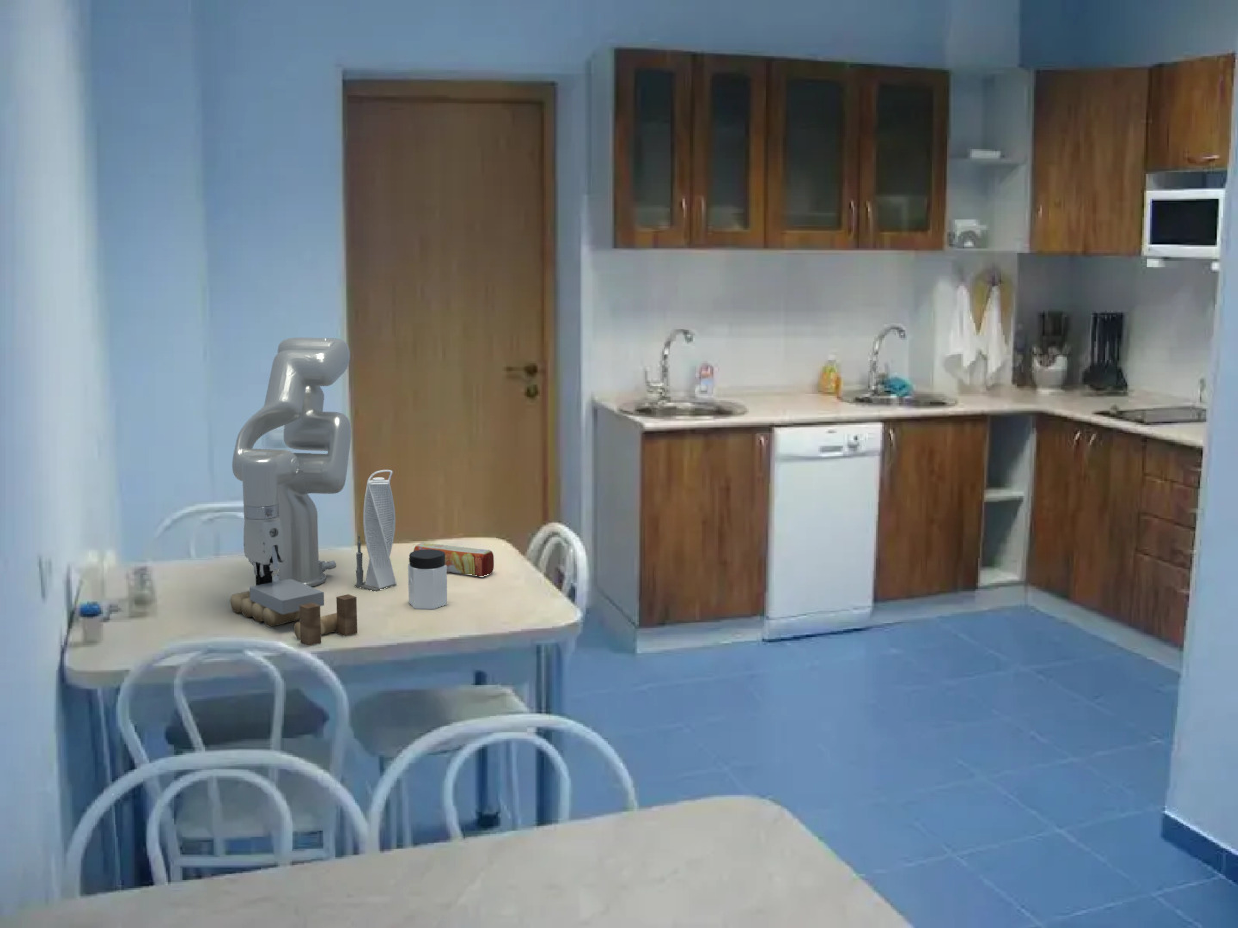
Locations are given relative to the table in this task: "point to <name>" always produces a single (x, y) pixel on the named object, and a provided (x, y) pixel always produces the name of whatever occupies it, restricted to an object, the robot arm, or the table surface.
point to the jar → (427, 579)
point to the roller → (322, 625)
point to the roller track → (260, 610)
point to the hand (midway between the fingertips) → (264, 591)
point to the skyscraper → (377, 535)
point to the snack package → (464, 559)
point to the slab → (285, 595)
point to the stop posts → (312, 621)
